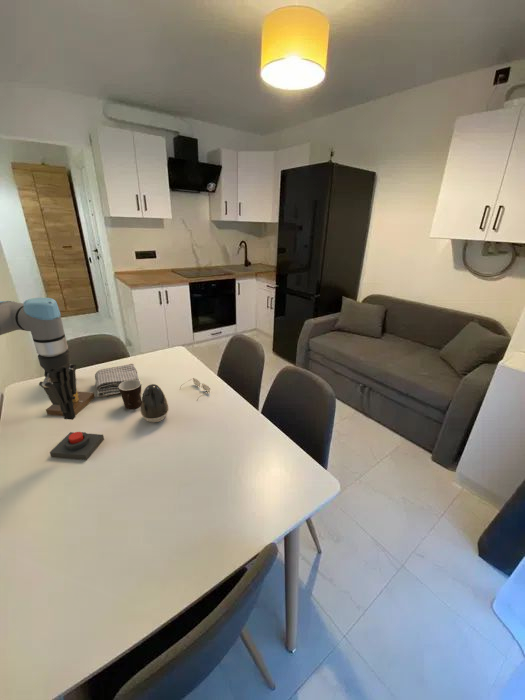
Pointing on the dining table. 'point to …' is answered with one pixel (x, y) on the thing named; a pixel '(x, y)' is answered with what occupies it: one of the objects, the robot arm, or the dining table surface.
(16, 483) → the dining table surface
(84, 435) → the doorbell
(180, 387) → the eyeglasses
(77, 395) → the thumb turn
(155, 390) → the dark egg shape
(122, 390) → the coffee mug
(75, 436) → the bell button
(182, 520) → the dining table surface
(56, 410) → the plate
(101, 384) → the towel
